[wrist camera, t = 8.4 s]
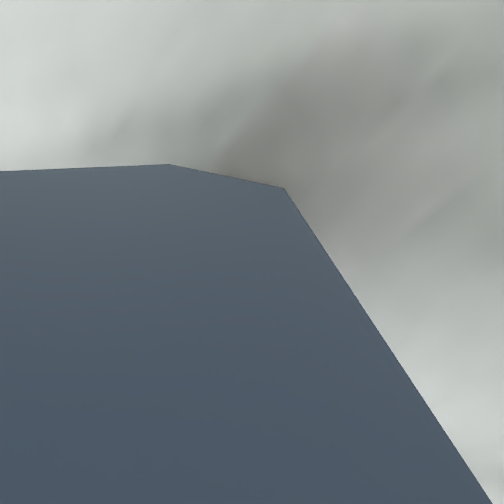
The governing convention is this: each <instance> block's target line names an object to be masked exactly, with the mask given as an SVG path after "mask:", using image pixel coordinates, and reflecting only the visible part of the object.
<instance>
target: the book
mask: <svg viewBox="0 0 504 504" xmlns="http://www.w3.org/2000/svg"><path fill="white" fill-rule="evenodd" d="M0 504H492V502H491V501H490V499H489V498H488V496H487V495H486V493H485V492H484V490H483V489H482V487H481V486H480V484H479V483H478V481H477V480H476V478H475V476H474V475H473V473H472V472H471V470H470V469H469V467H468V466H467V464H466V463H465V461H464V460H463V458H462V457H461V455H460V454H459V452H458V451H457V449H456V448H455V446H454V445H453V443H452V442H451V440H450V439H449V437H448V436H447V434H446V433H445V431H444V430H443V428H442V427H441V425H440V424H439V422H438V421H437V419H436V417H435V416H434V414H433V413H432V411H431V410H430V408H429V407H428V405H427V404H426V402H425V401H424V399H423V398H422V396H421V395H420V393H419V392H418V390H417V389H416V387H415V386H414V384H413V383H412V381H411V380H410V378H409V377H408V375H407V374H406V372H405V371H404V369H403V368H402V366H401V365H400V363H399V362H398V360H397V359H396V357H395V355H394V354H393V352H392V351H391V349H390V348H389V346H388V345H387V343H386V342H385V340H384V339H383V337H382V336H381V334H380V333H379V331H378V330H377V328H376V327H375V325H374V324H373V322H372V321H371V319H370V318H369V316H368V315H367V313H366V312H365V310H364V309H363V307H362V306H361V304H360V303H359V301H358V300H357V298H356V296H355V295H354V293H353V292H352V290H351V289H350V287H349V286H348V284H347V283H346V281H345V280H344V278H343V277H342V275H341V274H340V272H339V271H338V269H337V268H336V266H335V265H334V263H333V262H332V260H331V259H330V257H329V256H328V254H327V253H326V251H325V250H324V248H323V247H322V245H321V244H320V242H319V241H318V239H317V237H316V236H315V234H314V233H313V231H312V230H311V228H310V227H309V225H308V224H307V222H306V221H305V219H304V218H303V216H302V215H301V213H300V212H299V210H298V209H297V207H296V206H295V204H294V203H293V201H292V200H291V198H290V197H289V195H288V194H287V192H286V191H285V189H284V188H279V187H275V186H270V185H265V184H260V183H256V182H251V181H246V180H242V179H237V178H232V177H227V176H223V175H218V174H213V173H208V172H204V171H199V170H194V169H190V168H185V167H180V166H175V165H171V164H163V165H139V166H116V167H92V168H68V169H44V170H20V171H0Z"/></svg>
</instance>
